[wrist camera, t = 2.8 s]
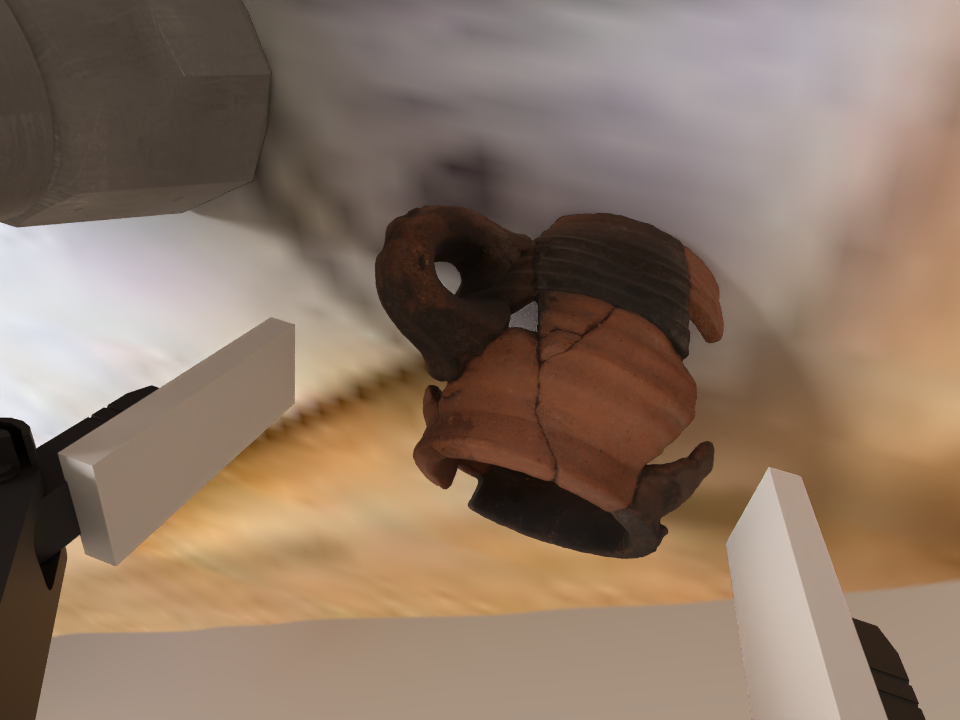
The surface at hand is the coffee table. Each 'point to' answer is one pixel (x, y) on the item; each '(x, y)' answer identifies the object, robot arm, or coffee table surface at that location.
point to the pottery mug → (555, 369)
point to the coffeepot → (126, 107)
